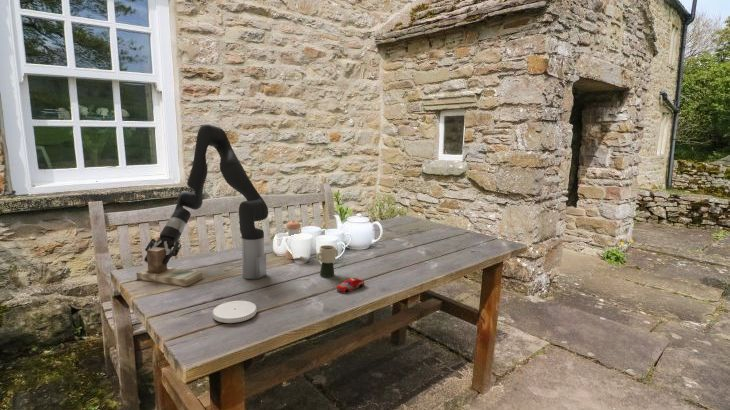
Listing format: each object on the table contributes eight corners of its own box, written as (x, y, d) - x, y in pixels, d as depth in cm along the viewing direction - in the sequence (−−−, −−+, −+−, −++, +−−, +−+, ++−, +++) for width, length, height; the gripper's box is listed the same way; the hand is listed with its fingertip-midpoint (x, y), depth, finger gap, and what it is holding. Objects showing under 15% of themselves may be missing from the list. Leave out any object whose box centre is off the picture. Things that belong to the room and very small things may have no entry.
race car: (342, 295, 154) (342, 285, 153) (333, 291, 157) (333, 281, 157) (366, 287, 163) (366, 278, 162) (357, 283, 167) (357, 274, 166)
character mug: (332, 270, 180) (332, 243, 178) (341, 275, 175) (342, 247, 173) (312, 275, 173) (312, 247, 171) (321, 280, 168) (321, 251, 166)
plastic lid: (230, 304, 142) (229, 298, 141) (264, 310, 138) (264, 304, 137) (203, 321, 129) (203, 314, 128) (240, 328, 125) (240, 321, 124)
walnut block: (167, 275, 167) (166, 248, 165) (158, 279, 162) (157, 251, 160) (157, 274, 168) (156, 247, 166) (148, 277, 163) (146, 250, 161)
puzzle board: (202, 278, 166) (202, 271, 165) (186, 286, 156) (186, 279, 156) (155, 271, 172) (154, 264, 171) (136, 279, 162) (136, 272, 161)
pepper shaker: (283, 257, 198) (283, 220, 195) (294, 254, 203) (294, 218, 200) (291, 260, 193) (291, 222, 190) (303, 257, 199) (303, 220, 195)
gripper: (154, 224, 171) (135, 256, 162) (182, 226, 167) (164, 260, 158) (164, 233, 177) (146, 265, 168) (191, 236, 173) (174, 269, 164)
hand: (154, 262), depth 163 cm, fingers open, 8 cm apart
